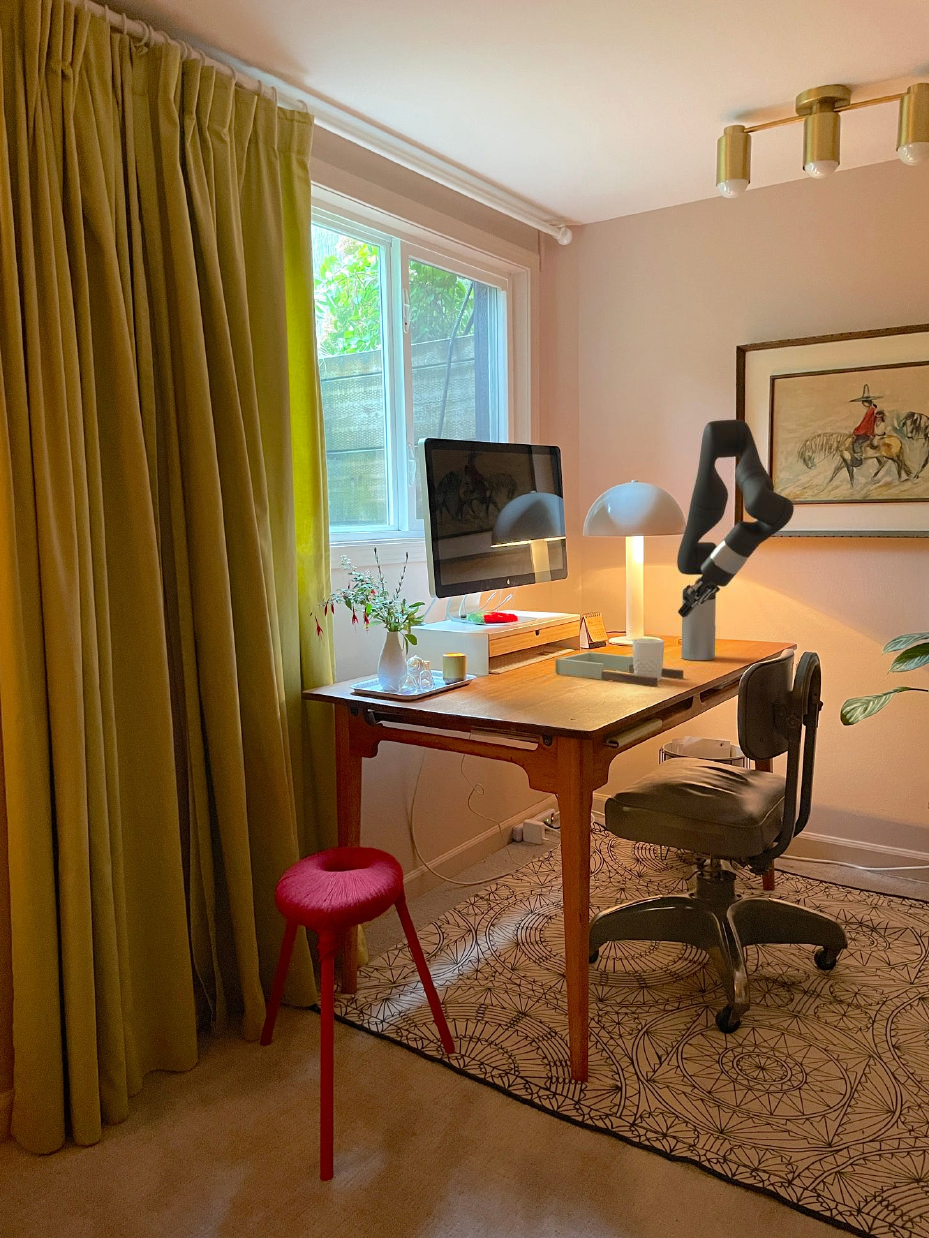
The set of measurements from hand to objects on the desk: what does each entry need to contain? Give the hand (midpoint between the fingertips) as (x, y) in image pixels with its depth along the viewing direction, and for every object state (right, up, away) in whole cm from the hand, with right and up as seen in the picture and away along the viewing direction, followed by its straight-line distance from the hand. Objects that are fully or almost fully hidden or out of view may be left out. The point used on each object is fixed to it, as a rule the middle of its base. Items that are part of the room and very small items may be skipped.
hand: (681, 614), depth 229 cm
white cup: (-7, -17, +9) cm, 20 cm away
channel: (-8, -16, +9) cm, 20 cm away
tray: (-18, -15, +19) cm, 30 cm away
